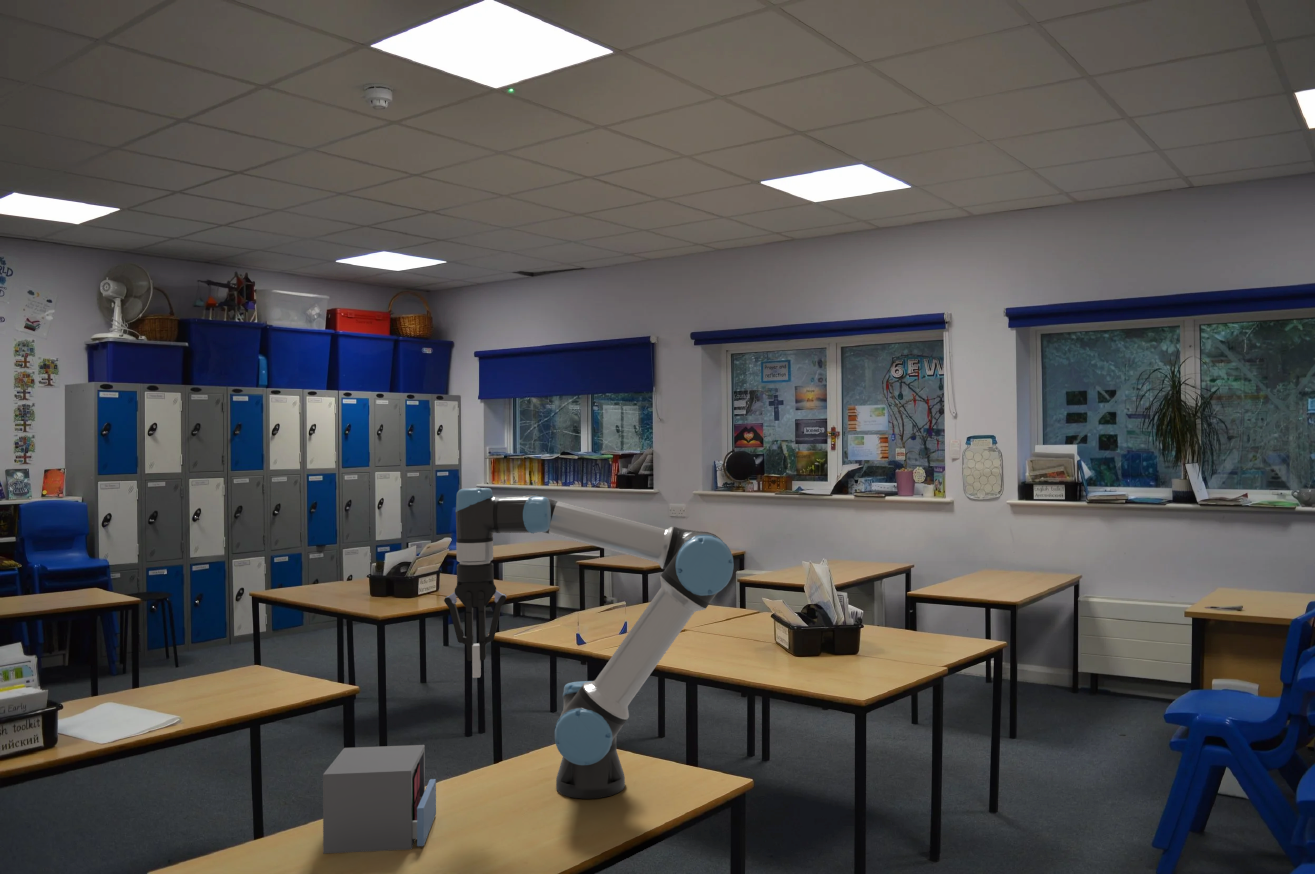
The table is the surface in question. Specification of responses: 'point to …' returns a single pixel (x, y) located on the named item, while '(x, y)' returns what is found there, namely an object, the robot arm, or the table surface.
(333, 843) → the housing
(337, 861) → the table surface
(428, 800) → the tray
